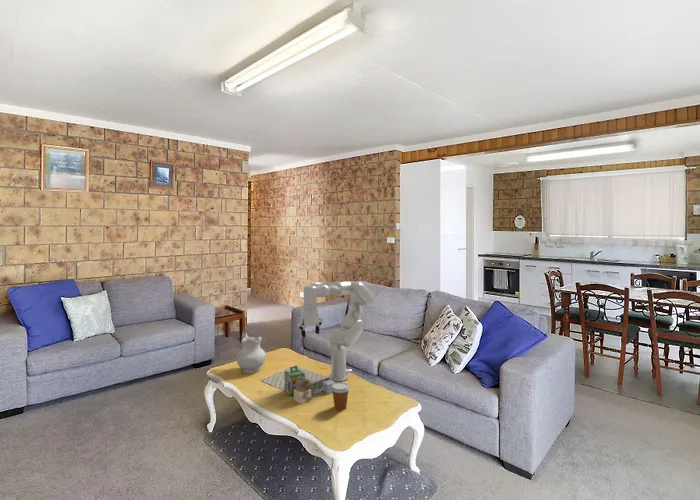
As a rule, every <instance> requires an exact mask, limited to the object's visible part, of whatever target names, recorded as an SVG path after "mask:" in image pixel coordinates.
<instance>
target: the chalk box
mask: <svg viewBox="0 0 700 500" xmlns="http://www.w3.org/2000/svg"><path fill="white" fill-rule="evenodd" d="M289 368H290V369H289V370H287V371H284V392H285V393H287V394H288V395H290V397H294V389H296V384H295V380H296V379H299V378H302V377H304V378H306V373H305V372H303V371H302V370H300V369H298V368H299V367H298V366H297V365H293V366H290V367H289Z"/></svg>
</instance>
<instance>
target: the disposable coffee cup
mask: <svg viewBox="0 0 700 500" xmlns="http://www.w3.org/2000/svg"><path fill="white" fill-rule="evenodd" d="M331 389H332V391H333V392H332V398H333V405H334V406H333V407H334V409H335V410H337V411H345V410H346V409H347V406H348V396H349V390H350V386H349V384H348V383H347V382H344V381H337V382H335V383H334V384H333V385H332V388H331Z"/></svg>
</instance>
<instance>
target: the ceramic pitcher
mask: <svg viewBox="0 0 700 500" xmlns="http://www.w3.org/2000/svg"><path fill="white" fill-rule="evenodd" d="M262 338H263V337H262V336H257V337H254V336H248V334H247V331H242V333H241V341H240V343H241V346H242V349H241V350H240V351H239V352H237V354H236V364H238V367H240V368H241V369H242V370H243V371H242V372H243V373H245V374H247V373H248V374H247V375H252V374H255V373H257V372H259V371H260V370H261V367H263V365H264V364H265V362H266V358H267V353H266V351H265V350H264V349H263V348H261V343H262Z"/></svg>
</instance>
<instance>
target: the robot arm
mask: <svg viewBox="0 0 700 500" xmlns="http://www.w3.org/2000/svg"><path fill="white" fill-rule="evenodd" d="M329 295H330V296H344V295H346V296H347V295H351V296H350V302H351V303H350V304H351V307H350V310H349V311H348V312H347V314H346V315H345V316H344V318H343V319H342V320H341V322H340V328H333V329H331V331H330V332H329V334H328V335H329V336H328V339H329V344H330V373H329V374H328V380H332V381H334V382H345V381H347V380H348V379H349V373H352V371H353V370H352V369H351V368H350V369H348V368H347V351H346V350H347V349H346V348H350V347H352V346H353V345H354V343H355V342H356V341H357V340H358V339H359V337H360V336H361V335H362V333H363V331H364V327H365V325H364V324H365V323H364V321H363V320H362V319H361V317H362V315H363V308H362V306H364V307H371V306H372V305H373V304H374V301H375V299H374V296H373V294H372V292H370V290H369V289H368V288H367V286H366V285H364V284H363V283H362V282H361V281H353V280H346V281H329V282H328V281H327V282H320V281H319V282H312V283H310V285H305V286H304V287H303V308H302V310H301V314H300V315H301V317H300V318H301V319H300V321H299V322H297V323H296V325H297V326H298V328H299V329H300V332H301V333H300V335H301V337H302V338H305V337H306V328H308V327H312V326H315V327H314V328H315V329H314V331H315V334H317V335H320V328H321V325H322V324H323V321H324V319H323V318H321V317H320V316H319V309H318V306H319V303H318V302H317V298H324V297H327V296H329Z"/></svg>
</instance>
